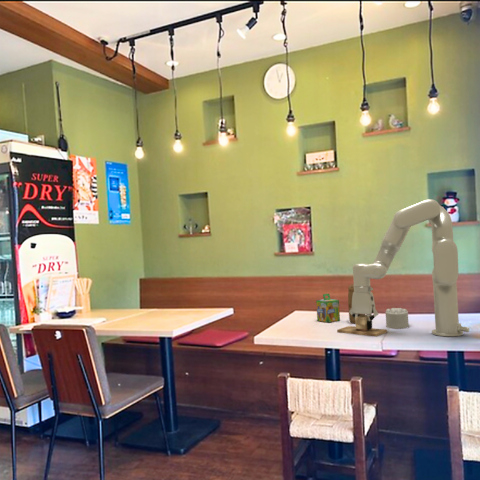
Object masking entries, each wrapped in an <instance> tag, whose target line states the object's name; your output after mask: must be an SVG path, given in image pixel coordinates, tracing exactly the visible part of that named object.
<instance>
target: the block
mask: <svg viewBox="0 0 480 480" xmlns="http://www.w3.org/2000/svg"><path fill="white" fill-rule="evenodd" d="M347 289H348V294H347V300H348V301H347V302H348V303H347V305H348V319H349V323H351V324H355V325H356V323H355V318H354V317H353V316H352V315H351V314H350V313H349V311H350V309H351V308H352V296H353V293H354V283H353V284H350V285H349V286H348V287H347ZM360 315H366V314H360Z"/></svg>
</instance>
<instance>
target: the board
mask: <svg viewBox="0 0 480 480" xmlns="http://www.w3.org/2000/svg"><path fill="white" fill-rule="evenodd" d="M336 333H340V334H341V333H342V334H350V335H361V336H367V337H378V336H381V335H384V334H386V333H388V329H384V328H375V327H372V329H369V330H366V331H357V330H356V325H355V326H353V325H352V326H351V325H347V326H344V327H341V328H337V330H336Z"/></svg>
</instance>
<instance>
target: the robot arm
mask: <svg viewBox="0 0 480 480" xmlns="http://www.w3.org/2000/svg"><path fill="white" fill-rule="evenodd" d="M426 221H429V223H430V225H431V240H432V241H431V242H432V243H431V252H432V257H433V258H432V259H433V268H432V272H431V278H432V287H433V305H434V309H433V310H434V323H435V324H434V325H435V328H434V329H432V330H431V334H433V335H435V336H440V337H460V336H463V335H464V332H466V333H469V332H470V327H468V326H462V323H461V322H459V321H460V320H459V318H460V317H459V302H458V288H457V281H458V278H459V253H458V252H459V251H458V246H457V244H456V242H454V230H453V221H452V218H451V215H450V214H449V212H448V211H447V210H446V209H445V208H444V207H443V206H442V205H440V203H439V202H438V201H437V200H435V199H432V198H428V199H424V200H421V201H419V202H418V203H415V204H412V205H409V206H407V207H405V208H402V209H400V210H397V211H396V212H395V213H394V215H393V219H392V220H391V222H390V224H389V226H388V228H387V231H386V232H385V233H384V237H383V238H382V241H381V245H380V248H379V250H378V252H377V254H376V256H375V259H374V261H373V262H372V263H365V262H364V263H361V262H359V263H355V264H353V266H352V274H353V275H352V276H353V284H354V293H353V296H352V308H351V309H350V311H349V310H348V314H349V313H350V314H351V315H352V316H353V317H354V318H355V317H358V316H360V314H365V315H367V319H368V321H367V329H368V330H369V329H372V328H373V320H374V319H375V318H376V317H377V316H378V315H379V312H378V311H377V309H376V303H375V297H374V294H373V292H372V291H373V290H374V288H373V287H371V279H373V280H381V279H383V278H385V277H386V276H387V272H388V270H389V268H390V267H391V264H392V263H393V260H394V258H395V256H396V255H397V254H398V252H399V251H400V249H401V247H402V245H403V243H404V241H405V238H406V236H407V235H408V233H409V231H410V229H411V227H413V226H416V225H418V224H421V223H423V222H426Z"/></svg>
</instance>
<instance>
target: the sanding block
mask: <svg viewBox="0 0 480 480" xmlns="http://www.w3.org/2000/svg"><path fill="white" fill-rule="evenodd" d="M367 321H368V319H367V315H366V314H365V315H360V316H358V317H355V323H356V324H355V327H356V330H357V331H366V330H368V329H367Z"/></svg>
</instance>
